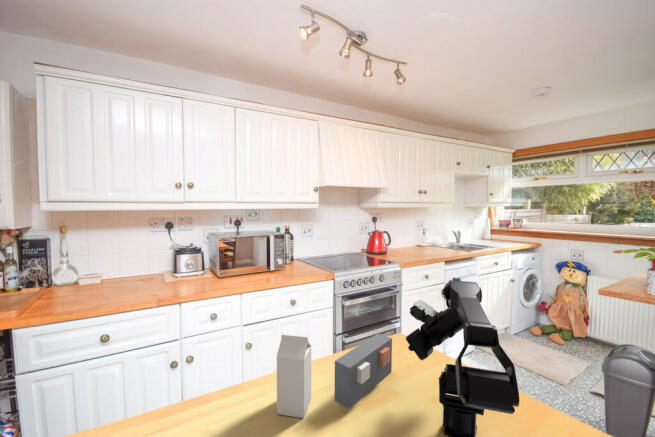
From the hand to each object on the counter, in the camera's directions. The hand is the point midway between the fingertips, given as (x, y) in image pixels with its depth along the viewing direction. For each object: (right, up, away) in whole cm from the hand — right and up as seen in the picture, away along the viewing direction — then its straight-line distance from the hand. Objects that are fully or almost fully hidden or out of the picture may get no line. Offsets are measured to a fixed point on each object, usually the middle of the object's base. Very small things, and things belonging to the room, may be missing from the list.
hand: (409, 348), depth 81 cm
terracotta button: (-6, -7, +6) cm, 11 cm away
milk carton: (-32, -13, -5) cm, 34 cm away
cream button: (-13, -7, -3) cm, 15 cm away
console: (-12, -12, +4) cm, 18 cm away
